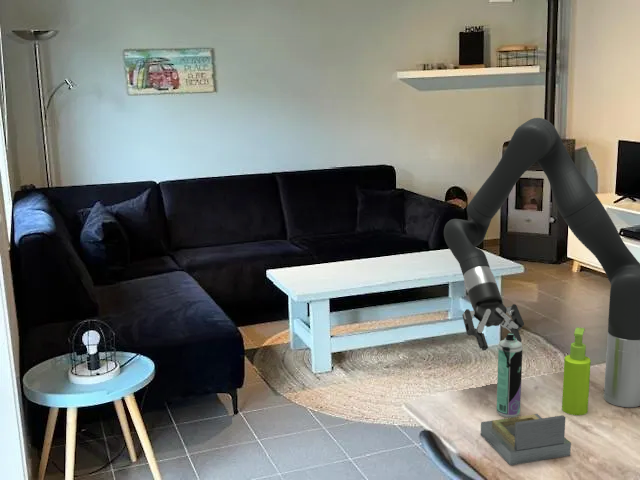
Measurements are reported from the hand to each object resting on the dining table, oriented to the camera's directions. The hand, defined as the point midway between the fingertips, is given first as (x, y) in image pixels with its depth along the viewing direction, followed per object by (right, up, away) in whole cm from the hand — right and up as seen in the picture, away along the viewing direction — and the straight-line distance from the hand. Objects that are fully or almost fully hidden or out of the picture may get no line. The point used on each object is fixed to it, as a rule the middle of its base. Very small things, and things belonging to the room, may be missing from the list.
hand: (501, 347), depth 182 cm
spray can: (+1, -16, -1) cm, 16 cm away
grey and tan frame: (+1, -19, -16) cm, 25 cm away
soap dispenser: (+18, -15, 0) cm, 23 cm away
